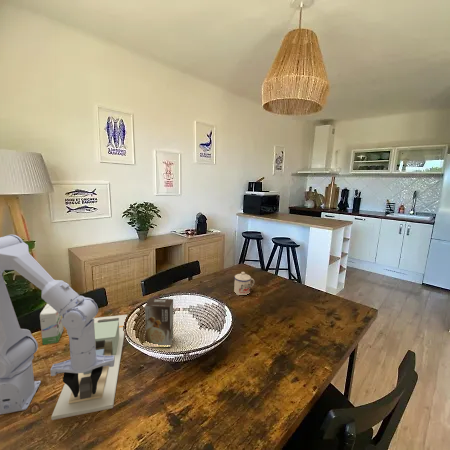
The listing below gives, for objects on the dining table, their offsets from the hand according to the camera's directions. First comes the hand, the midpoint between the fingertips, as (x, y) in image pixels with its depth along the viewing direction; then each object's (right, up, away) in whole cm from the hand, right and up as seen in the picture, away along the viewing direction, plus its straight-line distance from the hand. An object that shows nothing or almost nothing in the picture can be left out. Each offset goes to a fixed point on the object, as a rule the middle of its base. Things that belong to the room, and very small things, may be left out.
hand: (85, 392), depth 68 cm
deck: (-6, +1, +19) cm, 20 cm away
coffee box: (+13, +1, +27) cm, 30 cm away
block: (-3, +1, +11) cm, 11 cm away
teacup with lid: (+48, +8, +72) cm, 86 cm away
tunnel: (-6, +1, +21) cm, 22 cm away
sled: (-3, 0, +11) cm, 11 cm away
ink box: (-27, +3, +27) cm, 38 cm away
